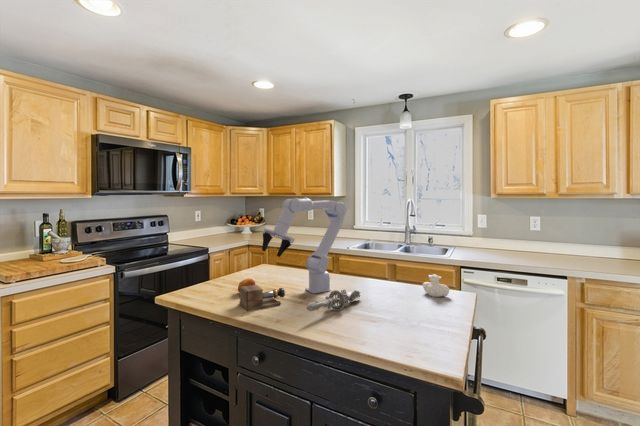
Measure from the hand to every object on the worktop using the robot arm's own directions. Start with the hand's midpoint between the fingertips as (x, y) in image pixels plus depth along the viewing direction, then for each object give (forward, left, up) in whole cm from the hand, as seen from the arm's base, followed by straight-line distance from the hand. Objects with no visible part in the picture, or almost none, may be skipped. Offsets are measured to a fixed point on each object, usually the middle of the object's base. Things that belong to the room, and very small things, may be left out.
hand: (270, 253), depth 138 cm
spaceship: (-19, +22, -21) cm, 36 cm away
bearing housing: (+6, +2, -21) cm, 21 cm away
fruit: (+6, -16, -21) cm, 27 cm away
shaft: (+1, +2, -19) cm, 19 cm away
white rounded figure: (-67, +30, -21) cm, 76 cm away
